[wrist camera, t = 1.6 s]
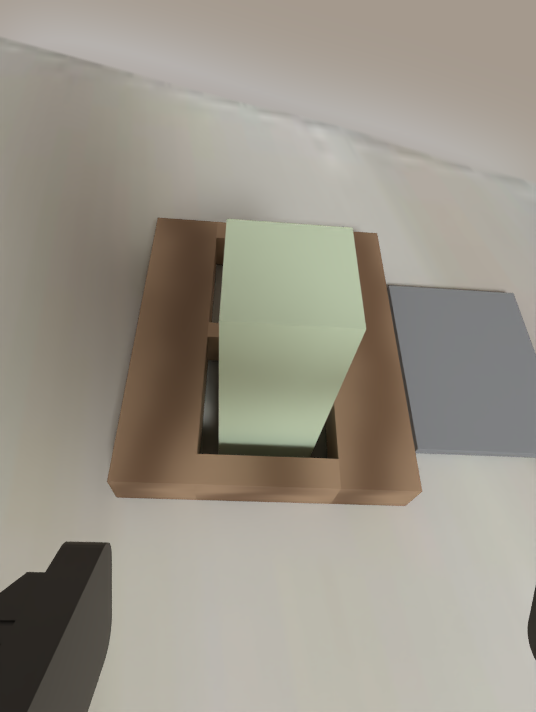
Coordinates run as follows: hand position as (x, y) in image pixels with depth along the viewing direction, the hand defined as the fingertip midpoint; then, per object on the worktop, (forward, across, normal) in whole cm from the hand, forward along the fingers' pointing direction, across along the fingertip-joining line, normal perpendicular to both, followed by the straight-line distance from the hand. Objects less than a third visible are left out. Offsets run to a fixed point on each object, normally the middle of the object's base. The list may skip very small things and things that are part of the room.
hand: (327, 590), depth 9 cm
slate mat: (+21, -13, 0) cm, 25 cm away
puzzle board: (+21, 0, 0) cm, 21 cm away
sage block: (+18, 0, +3) cm, 19 cm away
